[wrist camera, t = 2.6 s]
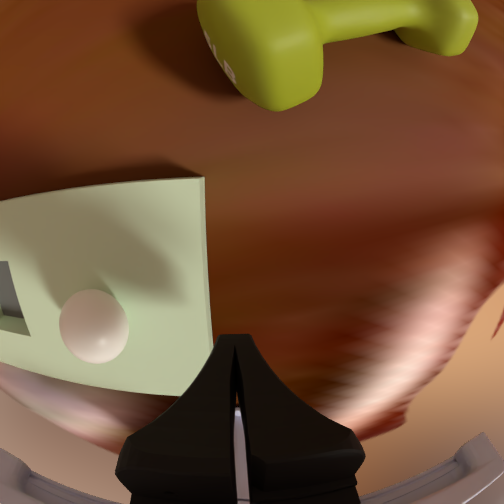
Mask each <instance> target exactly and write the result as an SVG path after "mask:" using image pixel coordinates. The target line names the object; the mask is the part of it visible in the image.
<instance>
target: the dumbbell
mask: <svg viewBox="0 0 504 504" xmlns="http://www.w3.org/2000/svg"><path fill="white" fill-rule="evenodd" d="M197 14H198V18H199V21H200V24H201V27H202V30H203V33H204V35H205V38H206V40H207V43H208V45H209V47H210V49H211V51H212V53H213V55H214V57H215V58H216V60H217V62H218V63H219V65H220V66H221V68H222V69H223V71H224V72H225V74H226V75H227V77H228V78H229V79H230V81H231V82H232V83H233V85H234V86H235V87H236V88H237V90H238V91H239V92H240V93H241V94H242V95H243V96H245V97H246V98H247V99H249V100H250V101H252V102H253V103H255V104H256V105H258V106H260V107H262V108H264V109H267V110H270V111H283V110H286V109H289V108H291V107H294V106H296V105H298V104H301V103H303V102H305V101H307V100H308V99H310V98H311V97H313V96H314V95H315V94H316V93H317V92H318V90H319V88H320V86H321V83H322V76H323V46H322V45H323V44H325V43H328V42H335V41H342V40H347V39H352V38H357V37H363V36H368V35H372V34H377V33H381V32H385V31H389V30H394V31H395V32H396V34H397V35H398V37H399V38H400V39H401V40H402V41H403V42H404V43H405V44H407V45H409V46H411V47H414V48H417V49H420V50H424V51H427V52H430V53H434V54H438V55H443V56H454V55H459V54H461V53H462V52H464V50H465V49H466V47H467V46H468V44H469V42H470V40H471V38H472V36H473V34H474V31H475V29H476V26H477V23H478V14H477V11H476V9H475V7H474V5H473V4H472V2H471V0H197Z"/></svg>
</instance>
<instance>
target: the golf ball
mask: <svg viewBox="0 0 504 504" xmlns="http://www.w3.org/2000/svg"><path fill="white" fill-rule="evenodd" d="M59 330H60V334H61V337H62V340H63V342H64V344H65V346H66V347H67V348H68V350H69V351H70V352H71V353H72V354H73V355H74V356H76V357H77V358H79V359H80V360H82V361H85V362H88V363H93V364H101V363H106V362H108V361H111V360H113V359H114V358H116V357H117V356H118V355H119V354H120V353H121V352H122V350H123V349H124V347H125V345H126V343H127V340H128V335H129V324H128V319H127V316H126V313H125V311H124V309H123V307H122V306H121V305H120V303H119V302H118V301H117V300H116V299H115V298H114V297H113V296H111V295H110V294H108V293H106V292H104V291H101V290H97V289H86V290H81V291H79V292H77V293H75V294H73V295H72V296H71V297H70V298H69V299H68V300H67V301H66V302H65V304H64V306H63V308H62V310H61V313H60V317H59Z"/></svg>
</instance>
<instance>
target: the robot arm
mask: <svg viewBox="0 0 504 504" xmlns="http://www.w3.org/2000/svg"><path fill="white" fill-rule="evenodd" d="M236 392H237V395H238V401H239V407H240V408H236ZM364 459H365V453H364V450H363V448H362V445H361V444H360V442H359V440H358V439H357V437H356V435H355V434H354V432H353V431H352V430H351V429H349V428H347V427H345V426H343V425H341V424H339V423H337V422H334V421H332V420H330V419H329V418H327V417H325V416H324V415H322V414H320V413H319V412H317V411H316V410H315V409H313V408H312V407H310V406H309V405H308V404H306V403H305V402H304V401H302V400H301V399H300V398H299V397H297V396H296V395H295V394H294V393H293V392H292V391H291V390H290V389H289V388H288V387H287V386H286V385H285V384H284V383H283V382H282V381H281V380H280V379H279V378H278V377H277V375H276V374H275V373H274V372H273V371H272V369H271V368H270V367H269V365H268V364H267V362H266V361H265V360H264V358H263V357H262V355H261V354H260V352H259V350H258V348H257V347H256V345H255V343H254V341H253V338H252V336H251V335H250V334H225V335H219V336H218V337H217V340H216V342H215V345H214V347H213V349H212V351H211V354H210V355H209V357H208V359H207V361H206V363H205V364H204V366H203V368H202V369H201V371H200V372H199V374H198V375H197V377H196V378H195V379H194V381H193V382H192V383H191V385H190V386H189V387H188V388H187V390H186V391H185V392H184V393H183V394H182V395H181V396H180V397H179V398H178V399H177V400H176V401H175V402H174V403H173V404H172V405H171V406H170V407H169V408H168V409H167V410H166V411H165V412H163V413H162V414H161V415H160V416H158V417H157V418H156V419H155V420H153V421H152V422H151V423H149V424H148V425H147V426H145V427H143V428H142V429H140V430H139V431H137V432H135V433H134V434H132V435H130V436H129V437H127V439H126V441H125V443H124V445H123V447H122V449H121V452H120V455H119V458H118V462H117V466H116V470H115V475H116V476H117V478H118V479H119V481H120V482H121V483H122V484H123V485H124V486H125V487H126V488H127V489H128V490H129V491H130V492H131V493H132V495H131V501H130V504H465V503H466V502H468V501H469V500H471V499H472V498H473V497H475V496H476V495H478V494H479V493H480V492H481V491H483V490H484V489H485V488H486V487H488V486H489V485H490V484H491V483H493V482H494V481H495V480H496V479H497V478H498V477H499V476H500V475H502V474H503V473H504V460H503V459H502V457H501V456H500V454H499V453H498V451H497V450H496V448H495V447H494V446H493V444H492V443H491V441H490V440H489V439H488V437H487V436H486V434H485V433H484V432H482V433H480V434H479V435H477V436H476V437H474V438H473V439H471V440H470V441H468V442H466V443H465V444H464V445H463V446H461V447H460V448H459V450H458V451H457V452H456V453H455V455H454V456H452V457H450V458H449V459H447V460H445V461H443V462H441V463H440V464H438V465H436V466H434V467H432V468H430V469H428V470H426V471H424V472H422V473H420V474H418V475H415V476H413V477H411V478H409V479H406V480H404V481H402V482H399V483H397V484H394V485H392V486H389V487H386V488H384V489H381V490H378V491H375V492H372V493H369V494H366V495H363V496H360V497H359V496H358V493H357V490H356V487H355V486H356V485H357V480H356V477H355V473H356V472H357V470H358V469H359V468H360V466H361V465H362V463H363V462H364ZM0 503H1V504H121V503H117V502H113V501H110V500H106V499H103V498H99V497H96V496H93V495H90V494H87V493H84V492H81V491H78V490H75V489H73V488H70V487H67V486H65V485H62V484H60V483H57V482H55V481H53V480H51V479H48V478H46V477H44V476H42V475H40V474H38V473H36V472H34V471H31V469H30V468H29V467H28V466H27V465H26V464H25V463H24V462H23V461H21V460H20V459H19V458H17V457H15V456H14V455H12V454H10V453H8V452H7V451H5V450H3V449H1V448H0Z"/></svg>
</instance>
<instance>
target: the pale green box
mask: <svg viewBox="0 0 504 504" xmlns="http://www.w3.org/2000/svg"><path fill="white" fill-rule="evenodd" d="M86 289H97V290H101V291H104V292H106V293H108V294H110V295H111V296H113V297H114V298H115V299H116V300H117V301H118V302H119V303H120V305H121V306H122V307H123V309H124V311H125V313H126V316H127V319H128V324H129V335H128V340H127V343H126V345H125V347H124V349H123V350H122V352H121V353H120V354H119V355H118V356H117V357H116V358H114V359H113V360H111V361H108V362H106V363H101V364H93V363H88V362H85V361H82V360H80V359H79V358H77V357H76V356H74V355H73V354H72V353H71V352H70V351H69V350H68V348H67V347H66V346H65V344H64V342H63V340H62V337H61V334H60V330H59V317H60V313H61V310H62V308H63V306H64V304H65V302H66V301H67V300H68V299H69V298H70V297H71V296H72V295H73V294H75V293H77V292H79V291H81V290H86ZM212 349H213V339H212V327H211V314H210V300H209V285H208V268H207V247H206V222H205V181H204V177H183V178H165V179H150V180H138V181H127V182H117V183H107V184H99V185H91V186H83V187H76V188H69V189H62V190H56V191H49V192H44V193H38V194H32V195H27V196H22V197H17V198H12V199H7V200H3V201H0V362H3V363H6V364H9V365H12V366H15V367H18V368H21V369H24V370H28V371H31V372H34V373H38V374H41V375H45V376H49V377H53V378H57V379H61V380H65V381H70V382H74V383H79V384H84V385H89V386H95V387H101V388H107V389H113V390H120V391H128V392H136V393H146V394H157V395H171V396H181V395H182V394H183V393H184V392H185V391H186V390H187V388H188V387H189V386H190V385H191V383H192V382H193V381H194V379H195V378H196V377H197V375H198V374H199V372H200V371H201V369H202V368H203V366H204V364H205V363H206V361H207V359H208V357H209V355H210V354H211V351H212Z"/></svg>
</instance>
